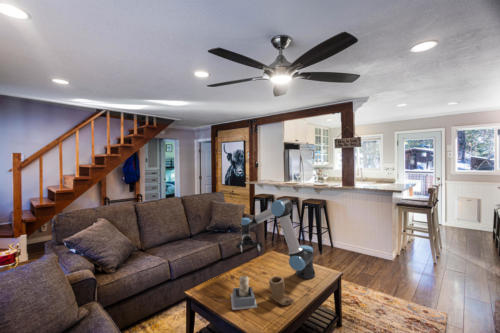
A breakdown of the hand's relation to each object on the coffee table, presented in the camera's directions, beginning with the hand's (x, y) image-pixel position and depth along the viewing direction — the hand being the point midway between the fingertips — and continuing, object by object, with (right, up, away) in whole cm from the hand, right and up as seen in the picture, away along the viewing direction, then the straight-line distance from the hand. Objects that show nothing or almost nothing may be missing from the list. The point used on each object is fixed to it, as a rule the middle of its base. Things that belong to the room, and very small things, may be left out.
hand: (250, 249), depth 179 cm
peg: (-5, -26, -20) cm, 34 cm away
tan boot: (+19, -27, -20) cm, 39 cm away
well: (-5, -27, -20) cm, 34 cm away
